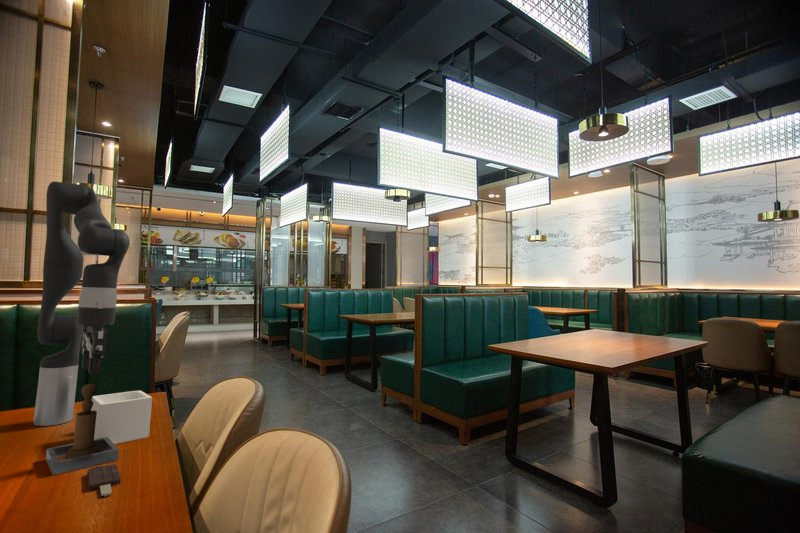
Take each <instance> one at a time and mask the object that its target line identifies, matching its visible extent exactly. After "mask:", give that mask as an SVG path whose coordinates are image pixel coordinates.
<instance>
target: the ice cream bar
mask: <svg viewBox="0 0 800 533" xmlns="http://www.w3.org/2000/svg"><path fill="white" fill-rule="evenodd" d="M86 480H88V481H87V488H88V489H89V491H90V492H94V491H93V490H95V491H98V490H97V489H99V491H100V497H102V496H104V497H108V495H109V496H111V495H112V494H111V493H112V491H113V490H112V487H111V486H113V485H117V484H120V485H121V480H122V478H121V475H120V472H119V468H118V466H117V464H109V465H96V466H92V467H89V469H88V470H87V474H86ZM117 486H118V485H117ZM113 487H114V486H113ZM89 491H88V492H89ZM110 494H111V495H110Z"/></svg>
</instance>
